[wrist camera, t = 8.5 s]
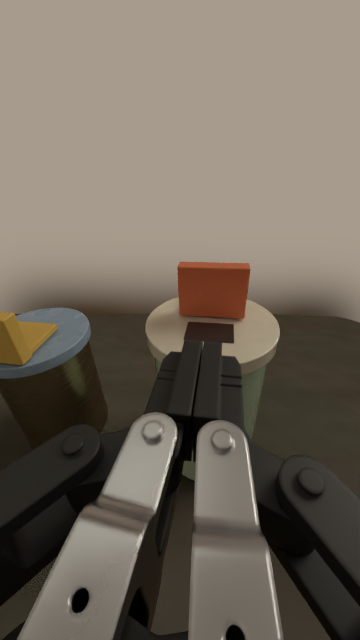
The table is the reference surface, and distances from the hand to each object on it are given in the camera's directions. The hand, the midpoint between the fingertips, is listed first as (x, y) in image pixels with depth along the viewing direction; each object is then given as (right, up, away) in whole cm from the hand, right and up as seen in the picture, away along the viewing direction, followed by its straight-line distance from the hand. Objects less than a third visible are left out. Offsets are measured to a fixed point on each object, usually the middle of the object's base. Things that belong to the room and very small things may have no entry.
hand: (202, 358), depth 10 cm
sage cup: (+2, -10, +13) cm, 17 cm away
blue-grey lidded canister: (-12, -9, +16) cm, 22 cm away
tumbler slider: (-13, 0, +9) cm, 15 cm away
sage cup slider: (+2, +3, +9) cm, 9 cm away
